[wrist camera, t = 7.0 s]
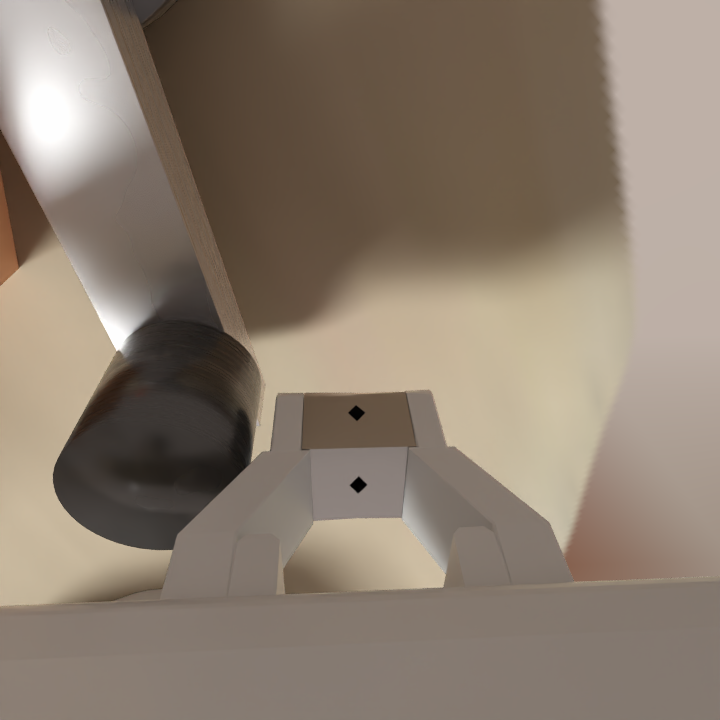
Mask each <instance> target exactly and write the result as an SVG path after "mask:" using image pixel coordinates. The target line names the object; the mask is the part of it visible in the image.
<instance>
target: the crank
mask: <svg viewBox="0 0 720 720" xmlns="http://www.w3.org/2000/svg"><path fill="white" fill-rule="evenodd" d="M0 129H1V131H2V133H3V135H4V137H5V139H6V141H7V143H8V145H9V146H10V148H11V150H12V152H13V154H14V156H15V158H16V160H17V162H18V164H19V165H20V167H21V169H22V171H23V173H24V175H25V177H26V179H27V181H28V183H29V185H30V186H31V188H32V190H33V192H34V194H35V196H36V198H37V200H38V202H39V204H40V205H41V207H42V209H43V211H44V213H45V215H46V217H47V219H48V221H49V223H50V225H51V226H52V228H53V230H54V232H55V234H56V236H57V238H58V240H59V242H60V244H61V245H62V247H63V249H64V251H65V253H66V255H67V257H68V259H69V261H70V263H71V264H72V266H73V268H74V270H75V272H76V274H77V276H78V278H79V280H80V282H81V284H82V285H83V287H84V289H85V291H86V293H87V295H88V297H89V299H90V301H91V303H92V304H93V306H94V308H95V310H96V312H97V314H98V316H99V318H100V320H101V322H102V324H103V325H104V327H105V329H106V331H107V333H108V335H109V337H110V339H111V341H112V343H113V344H114V346H115V348H116V350H117V352H116V354H115V356H114V357H113V359H112V361H111V363H110V365H109V367H108V368H107V370H106V372H105V374H104V376H103V377H102V379H101V381H100V383H99V385H98V387H97V388H96V390H95V392H94V394H93V396H92V397H91V399H90V401H89V403H88V405H87V407H86V408H85V410H84V412H83V414H82V416H81V417H80V419H79V421H78V423H77V425H76V427H75V428H74V430H73V432H72V434H71V436H70V437H69V439H68V441H67V443H66V445H65V447H64V448H63V450H62V452H61V454H60V456H59V457H58V459H57V462H56V464H55V467H54V472H53V484H54V488H55V492H56V495H57V497H58V499H59V501H60V502H61V504H62V506H63V507H64V508H65V510H66V511H67V512H68V513H69V514H70V515H71V516H72V517H73V518H74V519H75V520H76V521H77V522H78V523H80V524H81V525H83V526H84V527H85V528H87V529H88V530H90V531H92V532H94V533H95V534H97V535H99V536H102V537H104V538H106V539H108V540H111V541H114V542H116V543H120V544H123V545H127V546H131V547H136V548H142V549H151V550H173V548H174V545H175V541H176V537H177V534H178V533H179V532H180V531H182V530H183V529H184V528H185V527H186V526H187V525H188V524H189V523H190V522H191V521H192V520H193V519H194V518H195V517H196V516H197V515H198V514H199V513H200V512H201V511H202V510H203V509H204V508H205V507H206V506H207V505H208V504H209V503H210V502H211V501H212V500H213V499H214V498H215V497H216V496H217V495H218V494H220V493H221V492H222V491H223V490H224V489H225V488H226V487H227V486H228V485H229V484H230V483H231V482H232V481H233V480H234V479H235V478H236V477H237V476H238V475H239V474H240V473H241V472H242V471H243V470H244V469H245V468H246V467H247V466H248V465H249V464H250V463H251V457H252V450H253V443H254V436H255V429H256V426H260V420H261V413H262V405H263V398H264V391H265V382H264V379H263V376H262V374H261V371H260V368H259V365H258V362H257V359H256V356H255V353H254V350H253V348H252V345H251V342H250V339H249V336H248V333H247V330H246V327H245V324H244V321H243V319H242V316H241V313H240V310H239V307H238V304H237V301H236V298H235V295H234V293H233V290H232V287H231V284H230V281H229V278H228V275H227V272H226V269H225V267H224V264H223V261H222V258H221V255H220V252H219V249H218V246H217V243H216V241H215V238H214V235H213V232H212V229H211V226H210V223H209V220H208V217H207V214H206V212H205V209H204V206H203V203H202V200H201V197H200V194H199V191H198V188H197V186H196V183H195V180H194V177H193V174H192V171H191V168H190V165H189V162H188V160H187V157H186V154H185V151H184V148H183V145H182V142H181V139H180V136H179V133H178V131H177V128H176V125H175V122H174V119H173V116H172V113H171V110H170V107H169V105H168V102H167V99H166V96H165V93H164V90H163V87H162V84H161V81H160V79H159V76H158V73H157V70H156V67H155V64H154V61H153V58H152V55H151V53H150V50H149V47H148V44H147V41H146V38H145V35H144V32H143V29H142V26H141V24H140V21H139V18H138V15H137V12H136V9H135V6H134V3H133V0H0Z"/></svg>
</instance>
